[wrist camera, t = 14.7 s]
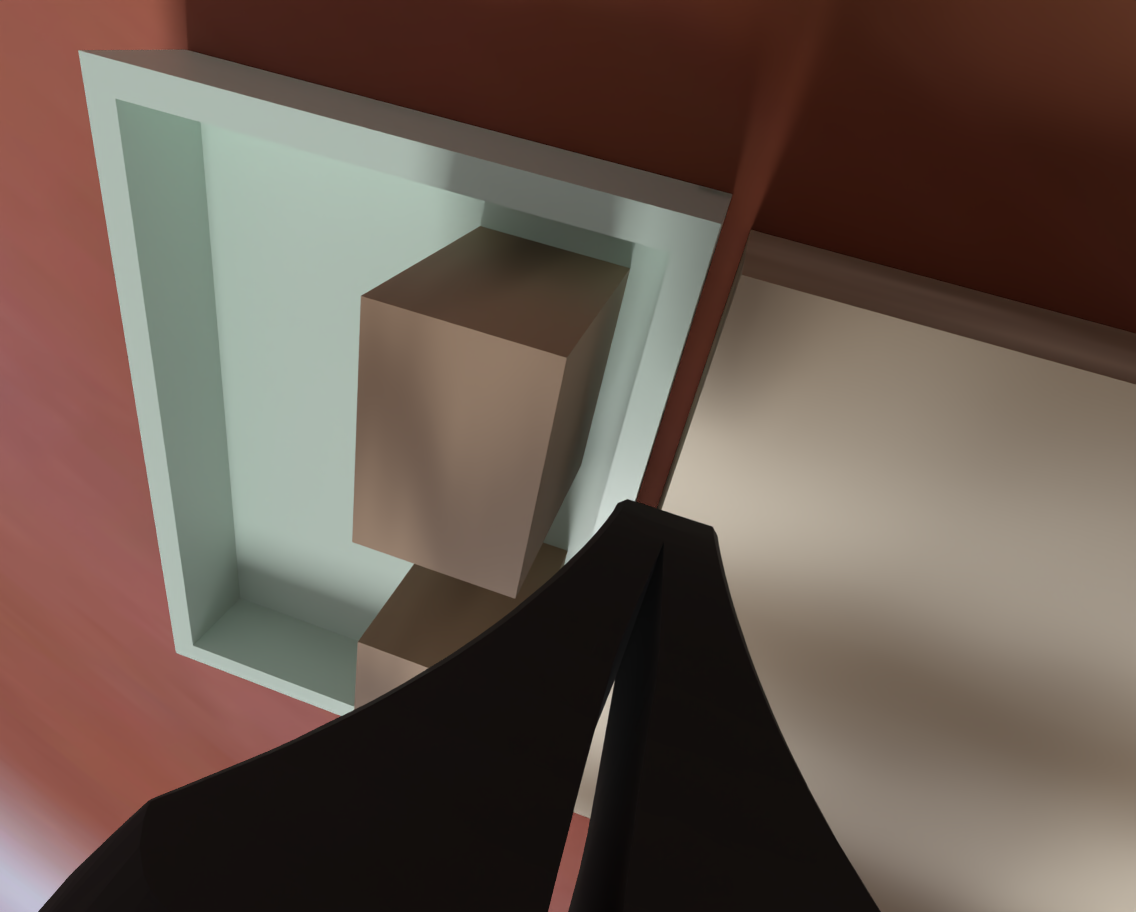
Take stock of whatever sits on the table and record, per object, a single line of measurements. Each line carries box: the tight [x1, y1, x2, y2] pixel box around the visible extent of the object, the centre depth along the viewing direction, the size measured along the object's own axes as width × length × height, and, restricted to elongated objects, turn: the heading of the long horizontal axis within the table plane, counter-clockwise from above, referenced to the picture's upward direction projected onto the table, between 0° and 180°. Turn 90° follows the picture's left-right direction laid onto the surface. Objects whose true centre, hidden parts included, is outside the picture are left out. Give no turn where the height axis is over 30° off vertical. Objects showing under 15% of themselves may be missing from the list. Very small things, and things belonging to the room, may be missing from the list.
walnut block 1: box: [352, 226, 630, 599], centre depth 13 cm, size 4×4×3 cm
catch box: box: [78, 50, 732, 716], centre depth 16 cm, size 15×11×2 cm
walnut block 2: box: [354, 543, 568, 710], centre depth 16 cm, size 4×4×3 cm
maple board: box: [573, 230, 1136, 912], centre depth 14 cm, size 14×16×3 cm
